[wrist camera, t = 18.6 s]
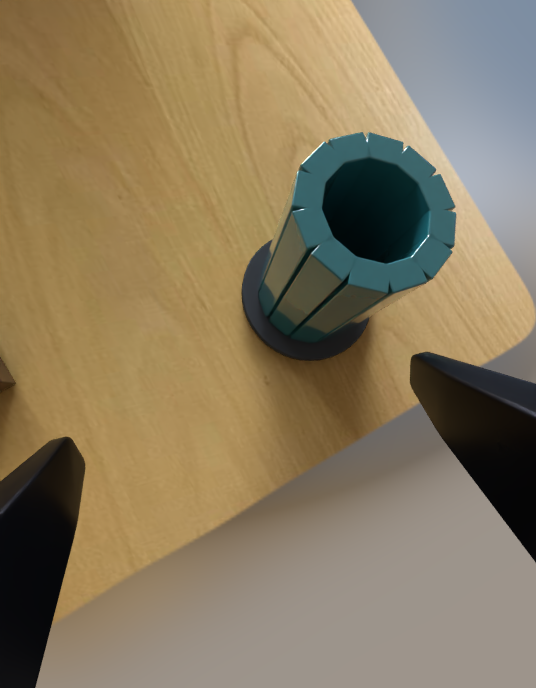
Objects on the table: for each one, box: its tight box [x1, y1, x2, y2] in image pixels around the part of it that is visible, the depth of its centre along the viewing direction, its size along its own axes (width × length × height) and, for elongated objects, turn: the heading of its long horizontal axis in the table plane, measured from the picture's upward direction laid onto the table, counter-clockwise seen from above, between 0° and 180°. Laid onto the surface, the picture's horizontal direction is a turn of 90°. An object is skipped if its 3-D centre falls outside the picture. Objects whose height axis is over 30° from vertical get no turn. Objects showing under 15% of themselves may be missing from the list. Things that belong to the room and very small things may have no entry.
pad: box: [242, 239, 369, 361], centre depth 24 cm, size 9×9×1 cm
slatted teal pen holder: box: [258, 132, 456, 343], centre depth 19 cm, size 7×7×10 cm
